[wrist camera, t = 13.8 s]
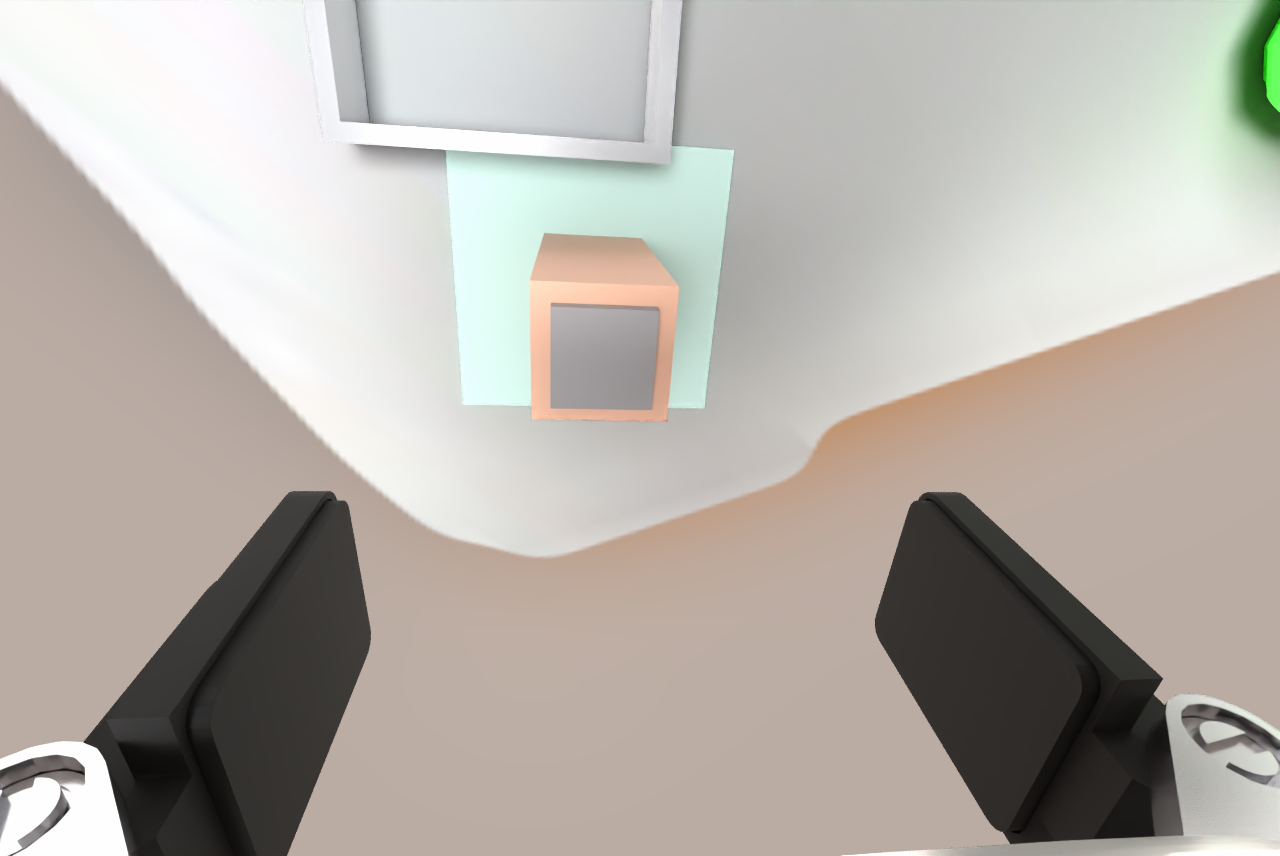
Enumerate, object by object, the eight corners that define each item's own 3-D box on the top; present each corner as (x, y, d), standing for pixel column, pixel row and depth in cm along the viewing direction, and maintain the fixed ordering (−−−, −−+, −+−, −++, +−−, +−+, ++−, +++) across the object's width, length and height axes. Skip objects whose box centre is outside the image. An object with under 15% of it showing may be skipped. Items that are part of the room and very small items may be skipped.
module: (641, 238, 31) (682, 290, 20) (635, 331, 33) (669, 428, 22) (544, 233, 30) (528, 284, 19) (544, 328, 32) (530, 426, 21)
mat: (731, 149, 30) (734, 149, 30) (702, 404, 36) (704, 408, 35) (446, 130, 28) (444, 129, 28) (464, 400, 34) (463, 404, 34)
